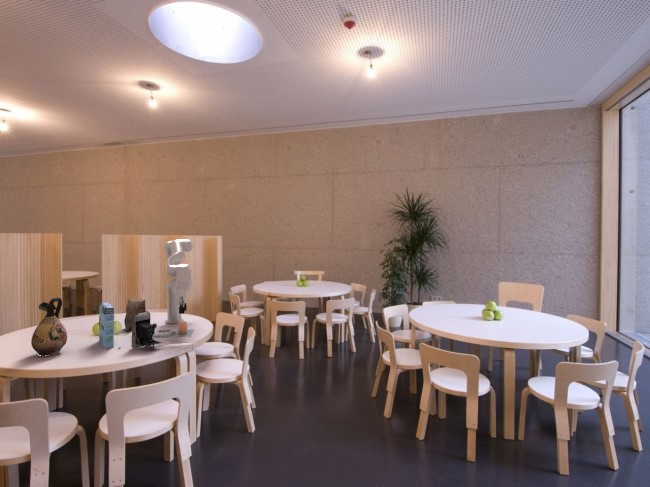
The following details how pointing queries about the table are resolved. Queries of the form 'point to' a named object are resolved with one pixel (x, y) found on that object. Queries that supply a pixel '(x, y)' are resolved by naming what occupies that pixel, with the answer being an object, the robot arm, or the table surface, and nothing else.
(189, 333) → the board
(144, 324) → the vintage camera
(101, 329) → the gum box
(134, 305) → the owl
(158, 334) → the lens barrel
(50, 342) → the ceramic jug
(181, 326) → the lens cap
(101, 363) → the table surface
